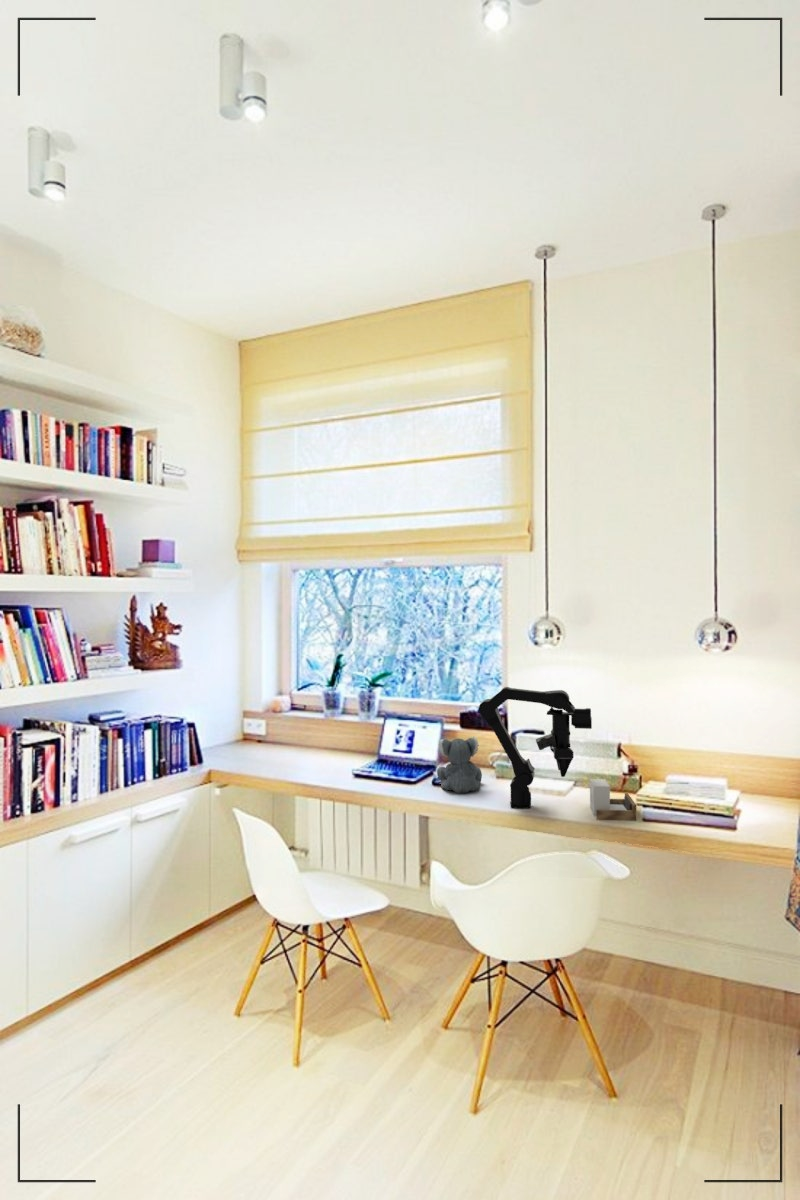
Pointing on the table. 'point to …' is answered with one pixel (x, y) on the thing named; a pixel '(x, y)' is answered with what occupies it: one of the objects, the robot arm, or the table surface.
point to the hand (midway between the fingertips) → (561, 773)
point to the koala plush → (459, 765)
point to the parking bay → (619, 814)
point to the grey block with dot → (601, 797)
